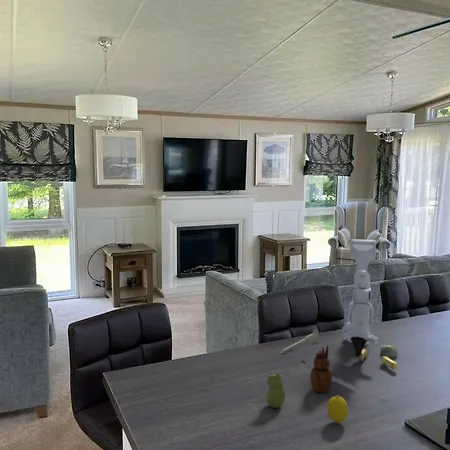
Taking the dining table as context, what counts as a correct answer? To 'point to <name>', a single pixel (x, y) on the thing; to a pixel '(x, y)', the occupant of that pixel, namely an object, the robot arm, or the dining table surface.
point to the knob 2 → (388, 362)
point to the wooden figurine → (321, 372)
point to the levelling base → (389, 351)
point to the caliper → (303, 341)
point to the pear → (275, 391)
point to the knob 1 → (363, 354)
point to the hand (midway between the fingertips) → (358, 356)
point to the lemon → (337, 409)
